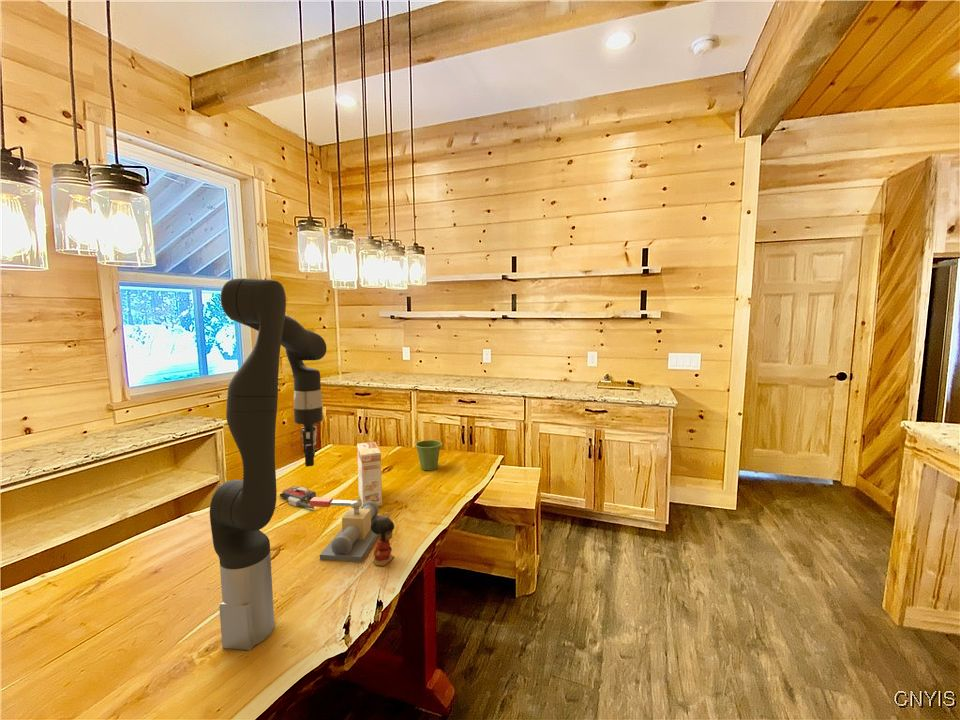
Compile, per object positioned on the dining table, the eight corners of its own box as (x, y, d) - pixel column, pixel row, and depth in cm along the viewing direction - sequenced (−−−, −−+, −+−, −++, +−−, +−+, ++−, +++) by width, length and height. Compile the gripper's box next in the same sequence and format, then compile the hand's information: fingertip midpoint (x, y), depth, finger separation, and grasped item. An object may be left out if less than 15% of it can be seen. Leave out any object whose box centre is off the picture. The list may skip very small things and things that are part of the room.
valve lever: (363, 504, 127) (363, 498, 126) (359, 509, 124) (359, 503, 123) (314, 502, 128) (314, 496, 128) (309, 506, 125) (309, 501, 125)
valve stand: (361, 562, 114) (360, 527, 113) (319, 559, 115) (318, 525, 114) (388, 519, 138) (388, 490, 137) (354, 518, 139) (353, 489, 138)
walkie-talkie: (274, 500, 153) (311, 513, 143) (273, 489, 153) (310, 500, 143) (295, 492, 161) (331, 503, 151) (294, 481, 160) (330, 491, 151)
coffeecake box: (382, 505, 148) (381, 452, 146) (362, 509, 145) (360, 455, 143) (377, 489, 162) (375, 441, 160) (358, 492, 159) (356, 443, 157)
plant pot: (447, 466, 187) (447, 442, 186) (431, 475, 177) (430, 449, 176) (427, 461, 193) (426, 438, 192) (410, 469, 183) (409, 444, 182)
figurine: (371, 568, 111) (370, 525, 110) (371, 557, 116) (370, 516, 115) (395, 564, 113) (394, 522, 111) (394, 553, 118) (393, 513, 117)
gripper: (321, 409, 113) (323, 468, 114) (322, 400, 126) (324, 452, 128) (291, 411, 110) (294, 471, 112) (295, 401, 124) (297, 455, 125)
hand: (310, 461), depth 120 cm, fingers open, 7 cm apart
